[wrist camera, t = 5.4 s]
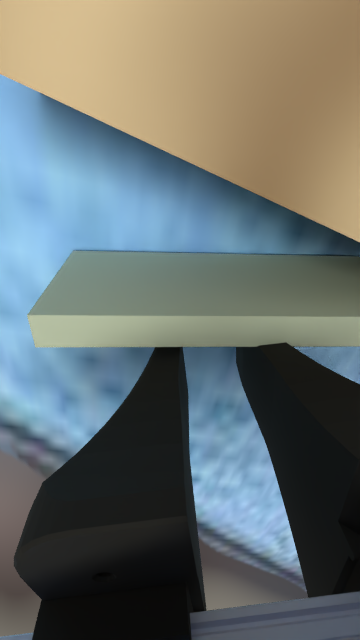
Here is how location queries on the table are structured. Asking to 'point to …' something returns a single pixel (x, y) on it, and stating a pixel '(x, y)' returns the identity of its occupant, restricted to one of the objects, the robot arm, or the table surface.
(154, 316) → the door
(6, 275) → the table surface
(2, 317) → the table surface
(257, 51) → the tan wooden crate
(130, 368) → the table surface
